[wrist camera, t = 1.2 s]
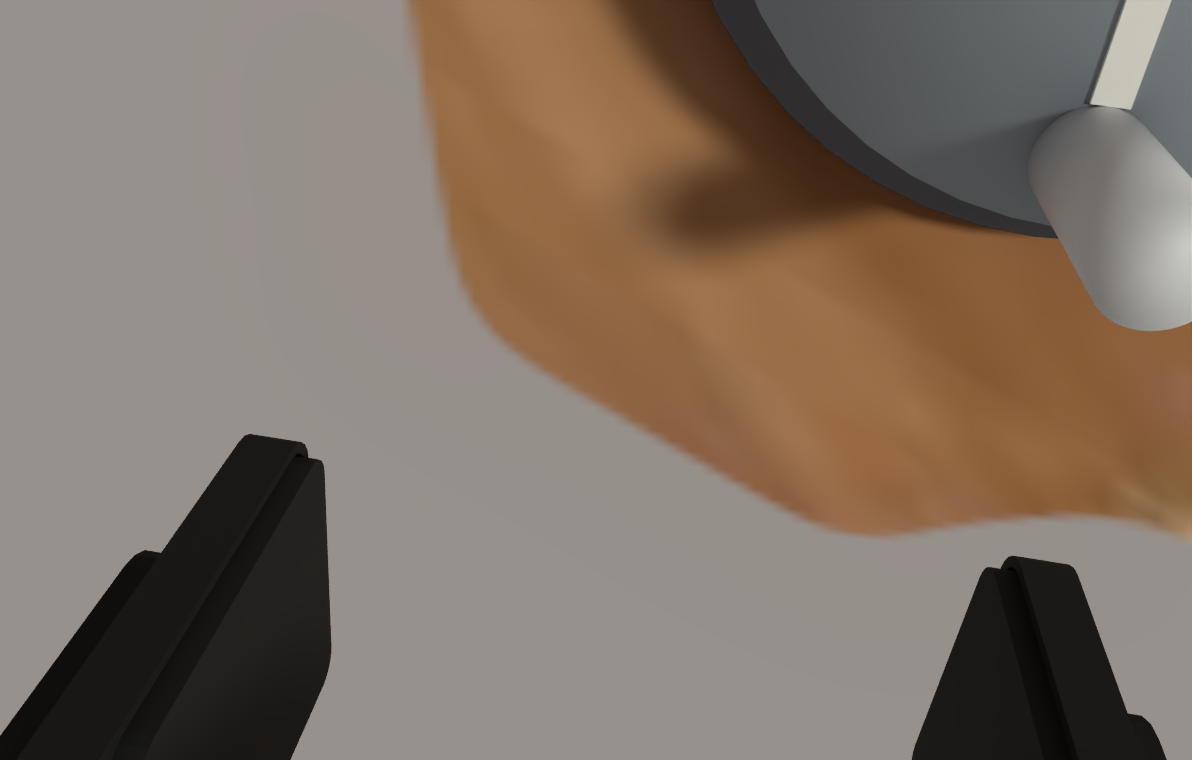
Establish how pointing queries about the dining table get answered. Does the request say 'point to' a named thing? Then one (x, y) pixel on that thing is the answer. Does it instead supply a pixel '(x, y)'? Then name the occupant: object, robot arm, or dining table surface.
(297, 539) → the robot arm
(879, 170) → the turntable base
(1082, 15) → the turntable
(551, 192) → the dining table surface
